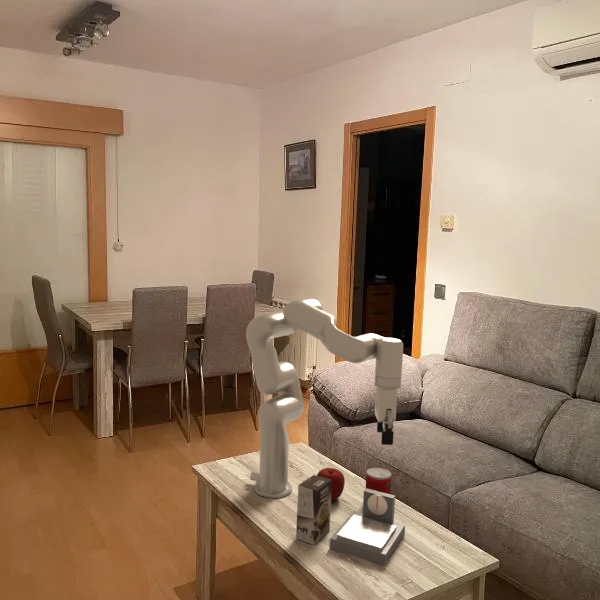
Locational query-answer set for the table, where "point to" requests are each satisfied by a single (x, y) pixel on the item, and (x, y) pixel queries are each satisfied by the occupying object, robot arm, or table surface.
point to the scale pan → (367, 532)
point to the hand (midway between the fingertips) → (384, 438)
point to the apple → (334, 481)
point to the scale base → (380, 510)
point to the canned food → (378, 480)
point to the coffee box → (313, 509)
